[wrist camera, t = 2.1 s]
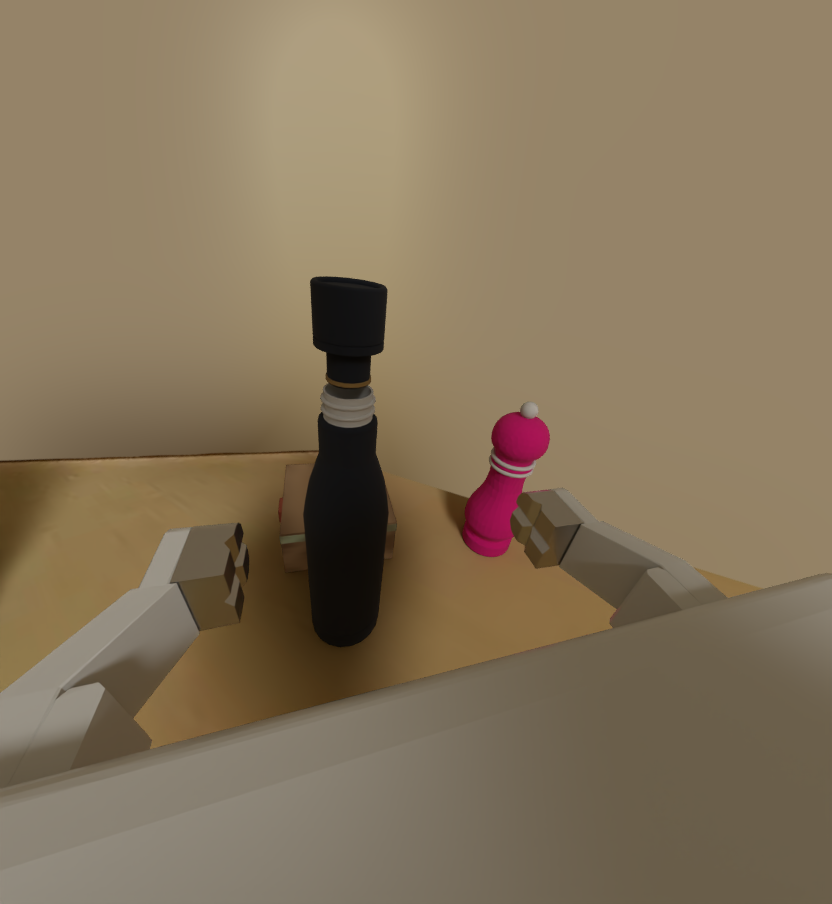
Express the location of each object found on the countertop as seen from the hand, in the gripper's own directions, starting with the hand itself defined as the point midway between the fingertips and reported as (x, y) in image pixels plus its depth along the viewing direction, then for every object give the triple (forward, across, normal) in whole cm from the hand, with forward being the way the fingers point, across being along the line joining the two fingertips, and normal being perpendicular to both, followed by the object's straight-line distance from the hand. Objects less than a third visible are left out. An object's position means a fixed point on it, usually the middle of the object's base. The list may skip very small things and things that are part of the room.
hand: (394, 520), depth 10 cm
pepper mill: (+19, -18, +26) cm, 37 cm away
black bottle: (+12, +1, +25) cm, 28 cm away
